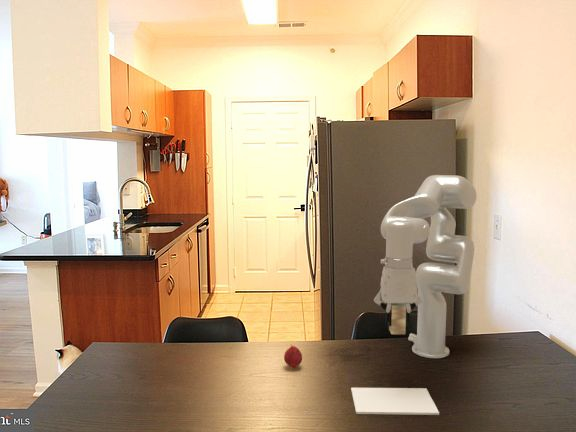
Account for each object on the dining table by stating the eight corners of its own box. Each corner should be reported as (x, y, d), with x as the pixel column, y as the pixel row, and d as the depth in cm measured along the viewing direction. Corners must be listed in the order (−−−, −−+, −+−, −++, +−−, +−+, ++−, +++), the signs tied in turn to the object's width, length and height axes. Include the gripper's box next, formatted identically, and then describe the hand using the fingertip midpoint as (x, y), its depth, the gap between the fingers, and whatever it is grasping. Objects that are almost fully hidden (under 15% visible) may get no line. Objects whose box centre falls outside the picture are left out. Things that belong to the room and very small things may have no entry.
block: (391, 334, 145) (392, 300, 144) (388, 329, 149) (389, 296, 148) (405, 334, 145) (406, 300, 144) (402, 329, 149) (403, 296, 148)
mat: (356, 413, 134) (356, 411, 134) (351, 389, 148) (351, 387, 148) (439, 414, 133) (439, 412, 133) (426, 390, 147) (426, 388, 147)
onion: (304, 365, 164) (304, 342, 163) (299, 373, 159) (298, 348, 158) (287, 363, 166) (287, 340, 165) (281, 370, 161) (281, 346, 160)
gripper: (371, 265, 141) (370, 328, 143) (431, 266, 141) (429, 329, 143) (368, 260, 148) (366, 320, 150) (424, 260, 148) (422, 320, 150)
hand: (397, 324), depth 147 cm, fingers closed on block, 4 cm apart
